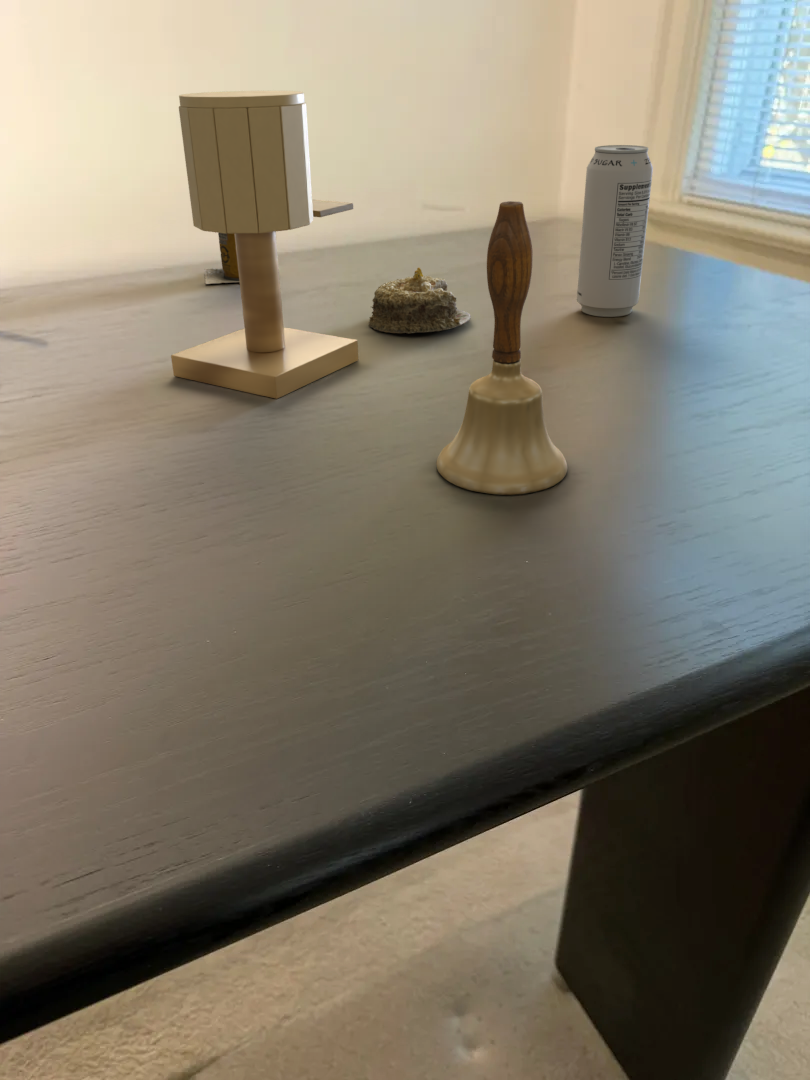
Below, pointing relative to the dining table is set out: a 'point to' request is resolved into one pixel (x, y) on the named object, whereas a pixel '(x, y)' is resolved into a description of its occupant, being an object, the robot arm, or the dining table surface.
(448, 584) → the dining table surface
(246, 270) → the hat stand
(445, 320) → the cake
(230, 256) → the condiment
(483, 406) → the hand bell
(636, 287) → the energy drink can
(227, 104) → the slatted wooden barrel
